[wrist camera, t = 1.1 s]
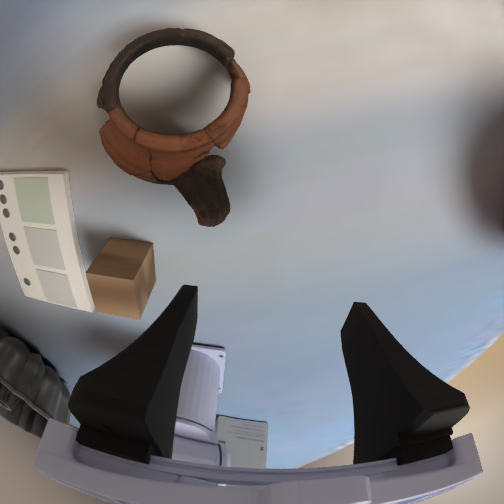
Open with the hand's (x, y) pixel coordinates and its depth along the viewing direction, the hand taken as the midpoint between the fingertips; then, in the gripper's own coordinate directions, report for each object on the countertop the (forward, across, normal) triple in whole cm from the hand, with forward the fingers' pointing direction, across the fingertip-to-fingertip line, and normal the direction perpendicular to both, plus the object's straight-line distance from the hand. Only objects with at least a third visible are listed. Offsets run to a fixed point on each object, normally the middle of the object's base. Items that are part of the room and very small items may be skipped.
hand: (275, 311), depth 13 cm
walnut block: (+10, +11, +6) cm, 16 cm away
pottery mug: (+11, +6, -6) cm, 14 cm away
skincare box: (+11, -1, +37) cm, 39 cm away
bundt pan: (+11, +38, +32) cm, 51 cm away
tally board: (+10, +22, +6) cm, 25 cm away
